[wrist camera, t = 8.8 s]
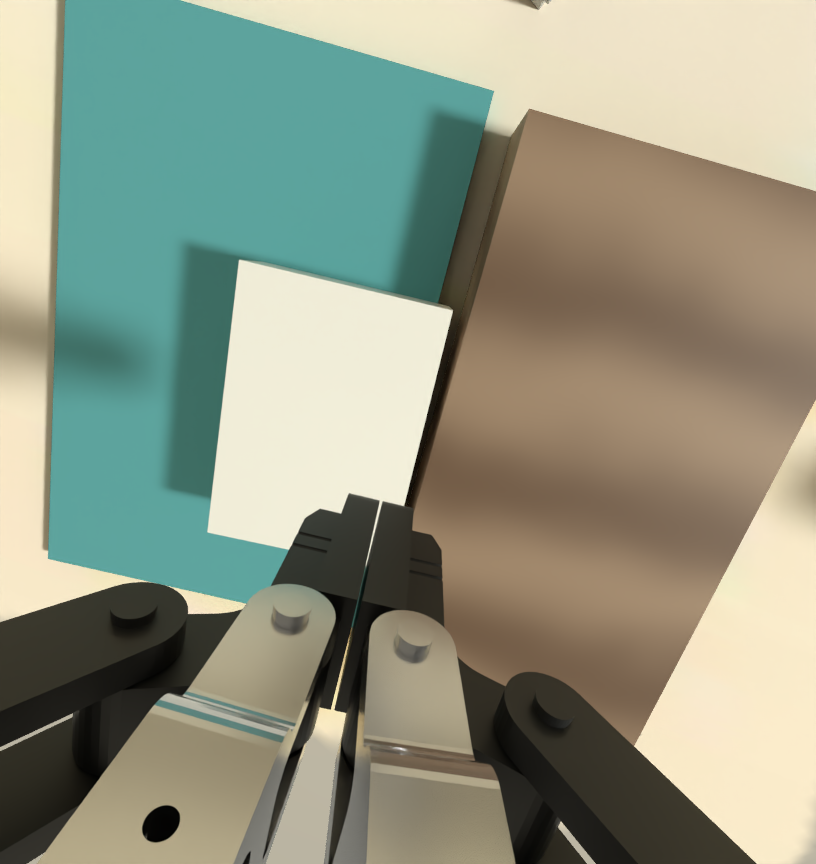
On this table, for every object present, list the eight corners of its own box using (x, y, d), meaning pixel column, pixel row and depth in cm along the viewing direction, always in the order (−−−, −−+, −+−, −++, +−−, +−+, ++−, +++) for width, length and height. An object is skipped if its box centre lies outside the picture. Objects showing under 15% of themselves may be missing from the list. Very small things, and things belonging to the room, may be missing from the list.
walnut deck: (510, 137, 17) (529, 108, 14) (830, 227, 18) (910, 218, 15) (369, 641, 24) (362, 691, 21) (606, 694, 24) (631, 750, 21)
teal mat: (76, -24, 16) (66, -33, 15) (491, 96, 17) (493, 91, 16) (55, 552, 22) (48, 558, 22) (353, 620, 23) (352, 627, 23)
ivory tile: (263, 261, 18) (239, 259, 16) (448, 306, 18) (453, 310, 16) (231, 503, 21) (207, 532, 19) (391, 537, 21) (387, 570, 19)
